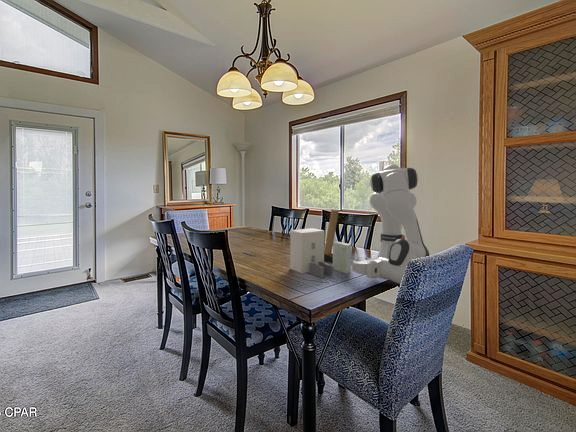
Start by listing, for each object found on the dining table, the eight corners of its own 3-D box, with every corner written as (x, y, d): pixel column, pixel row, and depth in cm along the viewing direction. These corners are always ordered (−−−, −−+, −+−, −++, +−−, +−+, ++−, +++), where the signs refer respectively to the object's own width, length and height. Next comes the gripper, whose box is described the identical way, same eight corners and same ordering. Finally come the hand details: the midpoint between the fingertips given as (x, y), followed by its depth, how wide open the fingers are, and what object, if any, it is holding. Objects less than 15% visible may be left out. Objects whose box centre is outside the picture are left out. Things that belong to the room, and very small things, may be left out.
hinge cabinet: (339, 274, 150) (339, 233, 148) (316, 279, 142) (316, 236, 140) (312, 264, 168) (312, 228, 166) (290, 268, 160) (290, 230, 158)
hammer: (343, 266, 173) (353, 214, 165) (338, 268, 169) (348, 215, 162) (316, 254, 186) (324, 205, 179) (311, 255, 183) (318, 206, 175)
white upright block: (350, 272, 154) (351, 244, 152) (344, 273, 152) (345, 245, 150) (336, 267, 162) (337, 241, 161) (331, 268, 160) (331, 242, 159)
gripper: (398, 257, 140) (375, 251, 151) (366, 263, 129) (343, 257, 140) (398, 271, 141) (374, 264, 152) (366, 278, 130) (343, 270, 141)
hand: (359, 260), depth 146 cm, fingers open, 8 cm apart
